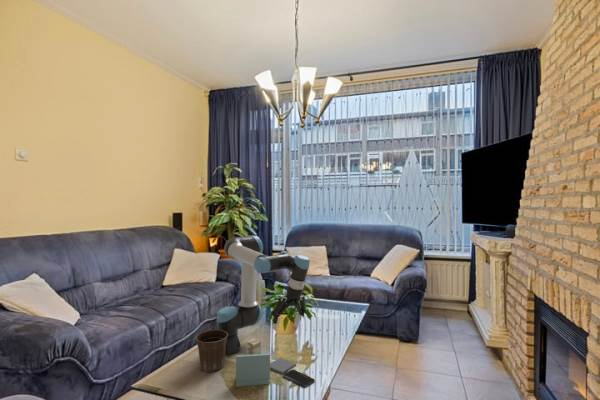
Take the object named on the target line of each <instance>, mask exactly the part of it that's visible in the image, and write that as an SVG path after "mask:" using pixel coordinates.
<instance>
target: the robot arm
mask: <svg viewBox="0 0 600 400" xmlns="http://www.w3.org/2000/svg"><path fill="white" fill-rule="evenodd" d="M223 249H224V253H225V255H226V256H227V257H228V258H230V259H232V260H239V261H241V281H240V283H241V285H240V289H241V290H240V293H241V295H240V297H241V299H240V301H239V302H238V307H236V306H233V305H231V306H225V307H223V308H221V309H219V311H218V312H217V313H216V330H223V331H226V332H227V333H228V337H227V343H226V349H225V356H230V355H235V354H237V353H238V352H240V351H241V349H242V346H241V340H240V338H239V333H238V331H239V330H240V329H241V330H242V329H245V328H248V327H252V326H255V325H258V324H259V323H260V321H261V320H262V317H263V315H262V314H263V311H262V307H261V305H260V304H259V302H258V301H257V299H256V295H257V292H256V291H257V274H266V273H272V272H276V271H277V272H278V271H281V270H283V271H284V270H287V271H289V272H291V273H290V276H289V280H288V286H287V289H286V296H283V295H281V296H280V299H279V300H278V303H277V304H276V306H275V307H274V309H273V310H272V311H271V315H272V317H273V319H272V323H273V324H272V330H274V331H275V332H277V331H278V329H279V328H278V326H279V323H280V318H281V317H280V316H281V315H282V314H284V312H285V311H286V310H287V309H288V308H289V307H292V306H293V307H295V309H296V310H297V312H296V315H295V318H294V323H293V326H295V327H296V328H299V325H300V321H301V319H302V316H304V315H305V314H306V313H307V311H306V305H305V304H306V303H305V300H306V299H305V298H306V296H304V294H303V291H304V287H305V283H306V279H307V275H308V272H309V269H310V262H311V260H310V258H309V257H308V256H305V255H302V254H297V255H294V254H292V253H290V252H289V251H285V250H283V251H282V250H281V252H278V254H274V255H266V254H264V253H263V251H264V246H263V241H262V240H261V238H260V237H259V236H257V235H244V236H234V237H230V238H229V239H228V240H227V241H226V242H225V244H224V247H223Z"/></svg>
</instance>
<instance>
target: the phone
mask: <svg viewBox="0 0 600 400" xmlns="http://www.w3.org/2000/svg"><path fill="white" fill-rule="evenodd" d="M282 377H283V378H285V379H286V380H288V381H291V382H292V383H293V384H296V385H299V386H300V387H302V388H305V389H306V388H307V387H309V386H311V385H312V384H314V383H315V381H316V379H315V378H313V377H310V376H309V375H306V374H305V373H303V372H300V371H298V370H296V369H290V370H288V371H287V372H285V373H284V374H282Z"/></svg>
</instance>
